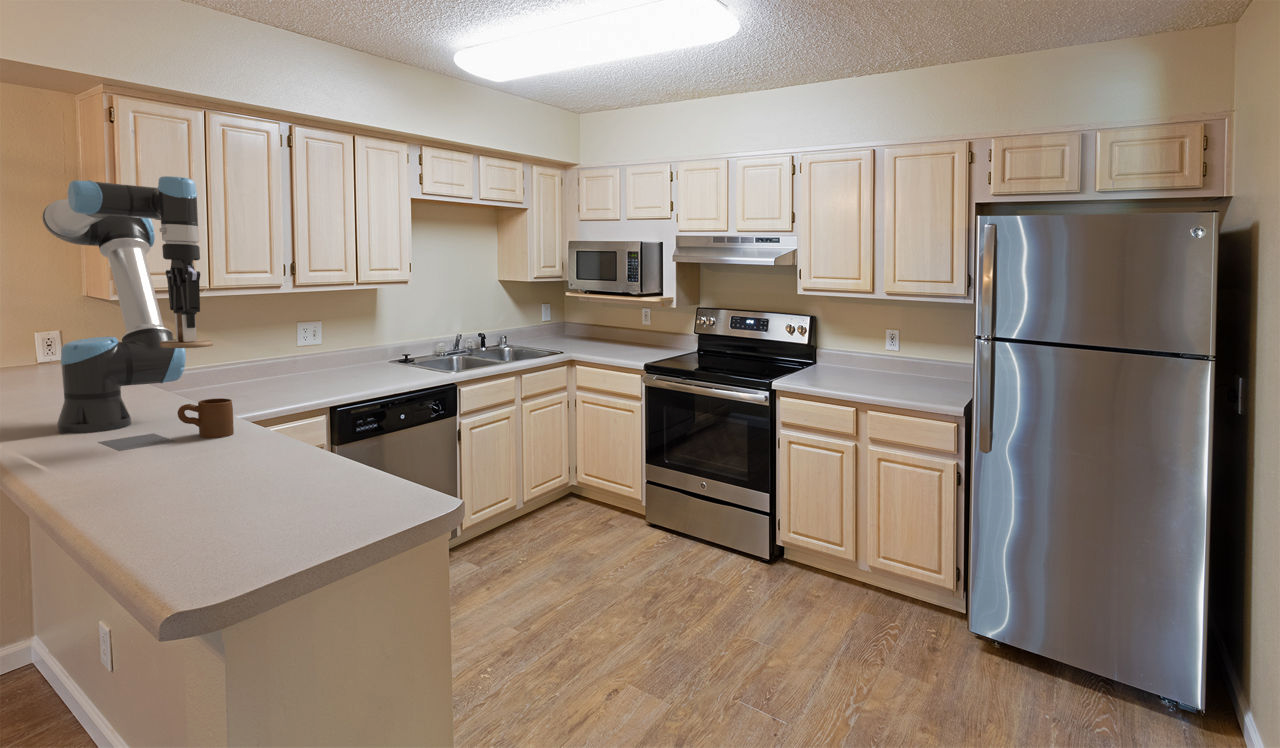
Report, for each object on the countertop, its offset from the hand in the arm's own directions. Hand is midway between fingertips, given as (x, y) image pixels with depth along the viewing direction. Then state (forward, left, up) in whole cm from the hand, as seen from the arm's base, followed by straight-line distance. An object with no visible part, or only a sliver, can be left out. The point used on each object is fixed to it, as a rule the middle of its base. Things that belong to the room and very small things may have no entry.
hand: (186, 340), depth 173 cm
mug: (+1, +3, -25) cm, 25 cm away
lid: (0, 0, -1) cm, 1 cm away
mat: (-5, -10, -25) cm, 27 cm away
